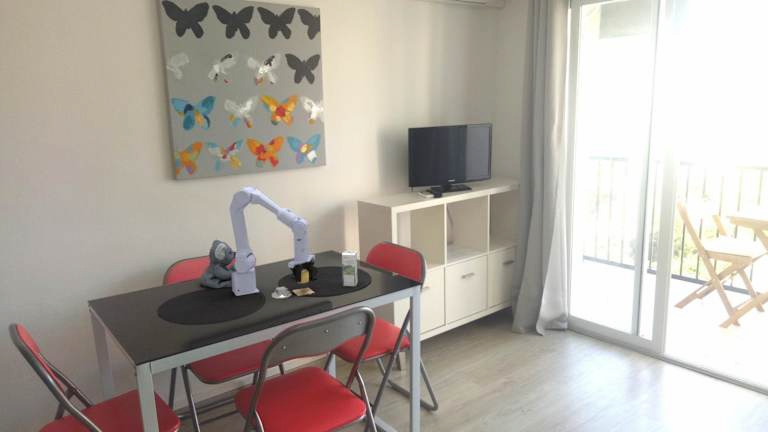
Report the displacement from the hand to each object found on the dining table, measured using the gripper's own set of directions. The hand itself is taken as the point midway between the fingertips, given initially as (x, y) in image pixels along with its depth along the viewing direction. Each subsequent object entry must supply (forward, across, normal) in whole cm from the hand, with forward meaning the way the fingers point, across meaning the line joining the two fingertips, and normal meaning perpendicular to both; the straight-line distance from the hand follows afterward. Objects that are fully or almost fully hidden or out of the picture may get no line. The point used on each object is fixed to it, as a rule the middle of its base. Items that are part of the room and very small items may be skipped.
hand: (302, 280), depth 225 cm
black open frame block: (+6, +14, +11) cm, 19 cm away
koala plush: (+6, -9, +39) cm, 40 cm away
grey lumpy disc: (+5, -7, +5) cm, 10 cm away
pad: (+5, 0, 0) cm, 5 cm away
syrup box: (+6, +18, -11) cm, 22 cm away
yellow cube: (0, 0, 0) cm, 0 cm away
